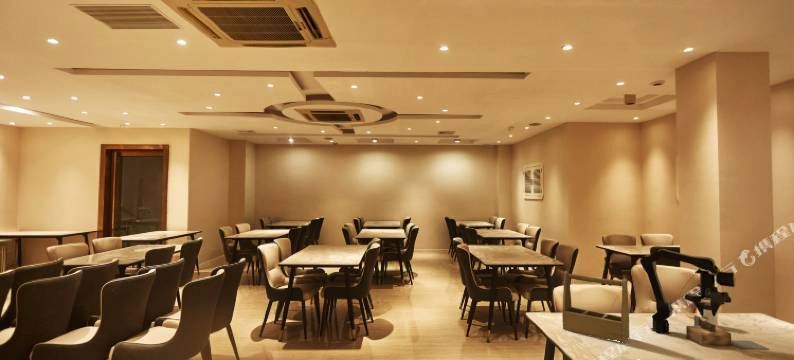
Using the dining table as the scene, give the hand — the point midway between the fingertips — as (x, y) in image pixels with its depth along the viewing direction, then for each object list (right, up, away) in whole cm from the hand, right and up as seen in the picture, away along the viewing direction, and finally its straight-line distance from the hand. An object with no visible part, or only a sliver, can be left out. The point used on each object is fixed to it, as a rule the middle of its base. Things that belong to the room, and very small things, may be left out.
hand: (708, 316), depth 194 cm
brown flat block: (0, -13, 0) cm, 12 cm away
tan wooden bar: (+5, -7, +13) cm, 15 cm away
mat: (+15, -13, -4) cm, 20 cm away
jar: (+18, -14, +24) cm, 33 cm away
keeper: (+4, -13, +10) cm, 17 cm away
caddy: (-50, -13, +10) cm, 53 cm away
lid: (0, -9, 0) cm, 9 cm away
